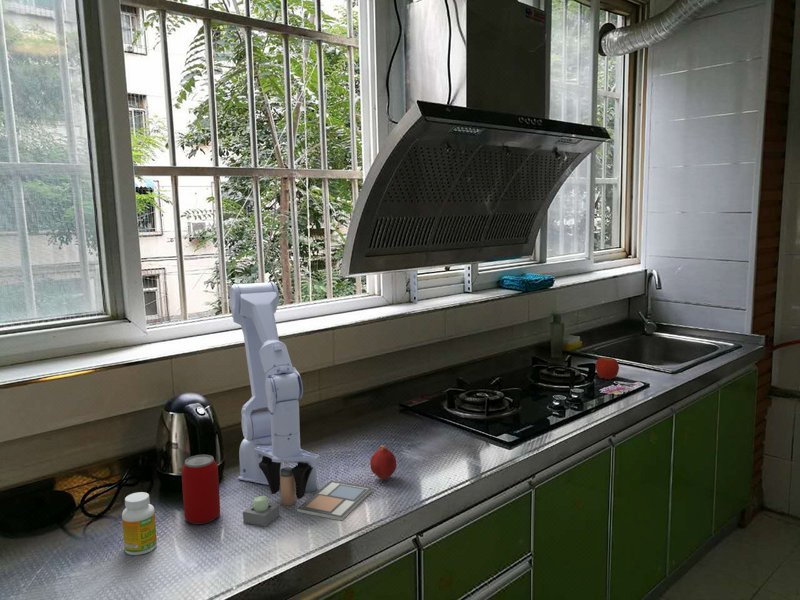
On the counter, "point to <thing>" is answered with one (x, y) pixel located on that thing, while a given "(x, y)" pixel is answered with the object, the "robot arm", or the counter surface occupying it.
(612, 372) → the apple
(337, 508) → the picture card
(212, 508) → the beverage can
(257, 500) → the button
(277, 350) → the robot arm
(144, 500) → the supplement bottle
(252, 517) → the button housing
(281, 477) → the terracotta marker
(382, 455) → the onion
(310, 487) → the cylinder
